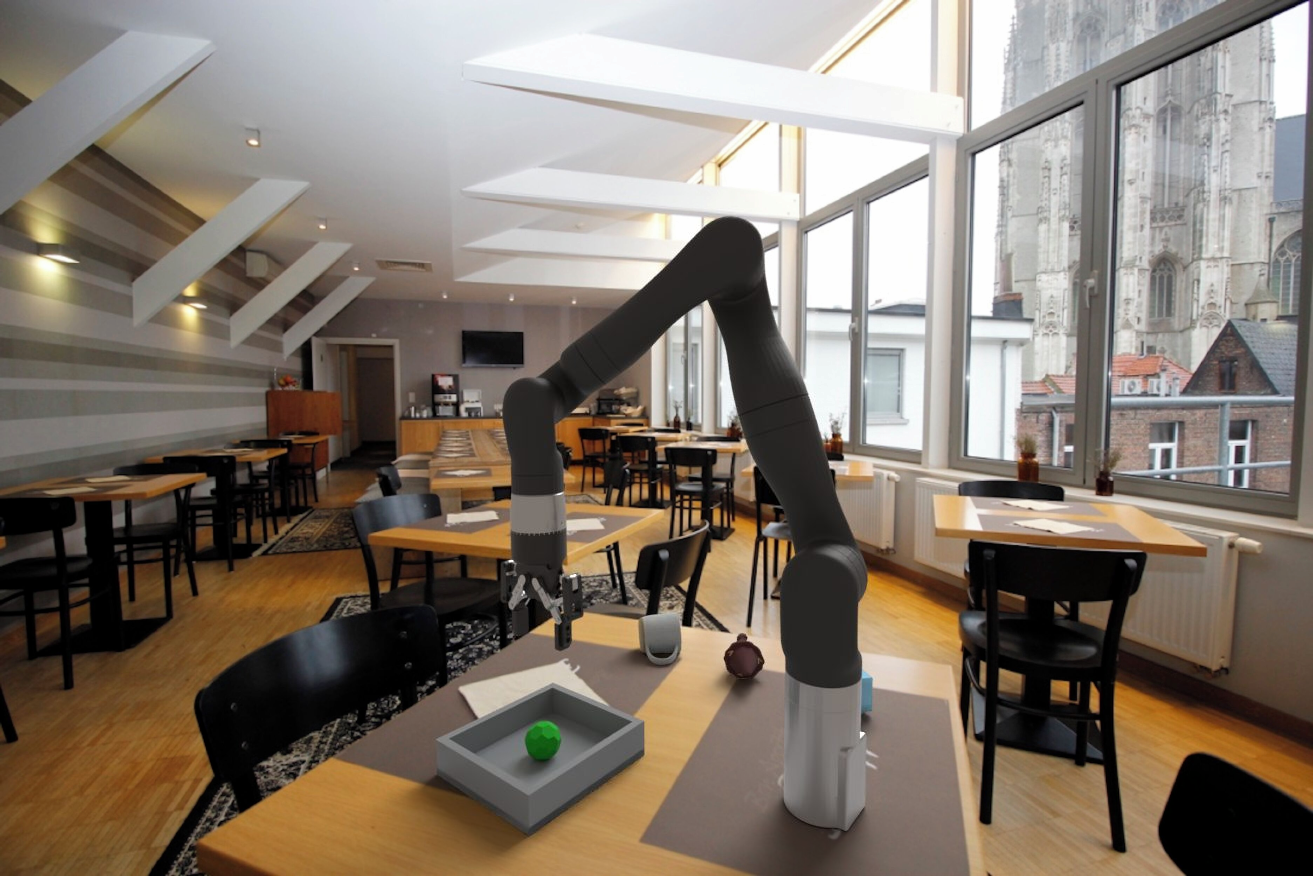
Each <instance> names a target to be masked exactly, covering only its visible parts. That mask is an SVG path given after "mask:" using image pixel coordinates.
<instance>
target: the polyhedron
mask: <svg viewBox="0 0 1313 876" xmlns="http://www.w3.org/2000/svg"><path fill="white" fill-rule="evenodd" d="M560 744H561V736H560V732H559V729H558V728H557V726H556V725H554V724H553V723H552V722H549V721H541V722H537V723H535V724H534V725H533V726H532V727H531V728H530V729H529V730H528V731H527V734H526V737H525V745H526V748H527V752H528V754H529V755H530V756H531V757H532V758H534V759H535V760H547V759H550V758H551V757H553V756H554V755H555V754H556V753H557V751H558V750H559V747H560Z"/></svg>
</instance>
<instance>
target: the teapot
mask: <svg viewBox="0 0 1313 876" xmlns="http://www.w3.org/2000/svg"><path fill="white" fill-rule="evenodd" d="M873 682H874V678H873V677H872V676H871V675H870V674H869V673H868V672H866V671H865V670H864V669H863V668H862V692H861V715H864V713H866V712H872V711H873V687H874V686H873Z"/></svg>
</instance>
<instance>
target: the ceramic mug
mask: <svg viewBox="0 0 1313 876" xmlns="http://www.w3.org/2000/svg"><path fill="white" fill-rule="evenodd" d="M638 639H639V649H640V652H642V653H644V654H646V655H647V657H648V659H649V661H650V662H652V663H653V664H656V665H658V666H659V665H660V666H665V665H666V664H667V665H670V664H672V663H673V662H674V661H675V660H676V658H677V655H678V653H681V652H682V628H681V622H680V616H679V613H678V612H676V611H673V612H668V613H667V612H665V613H658V614H650V615H645V616H642V617H640V618H638ZM670 653H671V655H669V657H667V658H660V657H659V658H658V657H655V656H654V655H653V654H670Z"/></svg>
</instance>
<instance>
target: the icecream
mask: <svg viewBox="0 0 1313 876" xmlns="http://www.w3.org/2000/svg"><path fill="white" fill-rule="evenodd" d="M748 638H749V637H748V635H747V634H746V633H743V632H741V633H738V635H737V636H736V640H735V641H734V642H732V643H730V646H729V647H727V649H726V650H725V651H724V656H723V661H724V664H725V669H726V670H727V672H728V673H729V674H731V675H732V676H734V677H735V678H737V679H738V678H739V680H742V679H741V678H750V679H753V678H755V677H756V676H757V675H758V674H759V673H760V672H761V671H762V670H763V669H764V665H765V663H766V662H765V658H764V656H763V653H762V651H761V648H760V647H758V646H757V645H755V644H754V643H753V642H752V641H748Z"/></svg>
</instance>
